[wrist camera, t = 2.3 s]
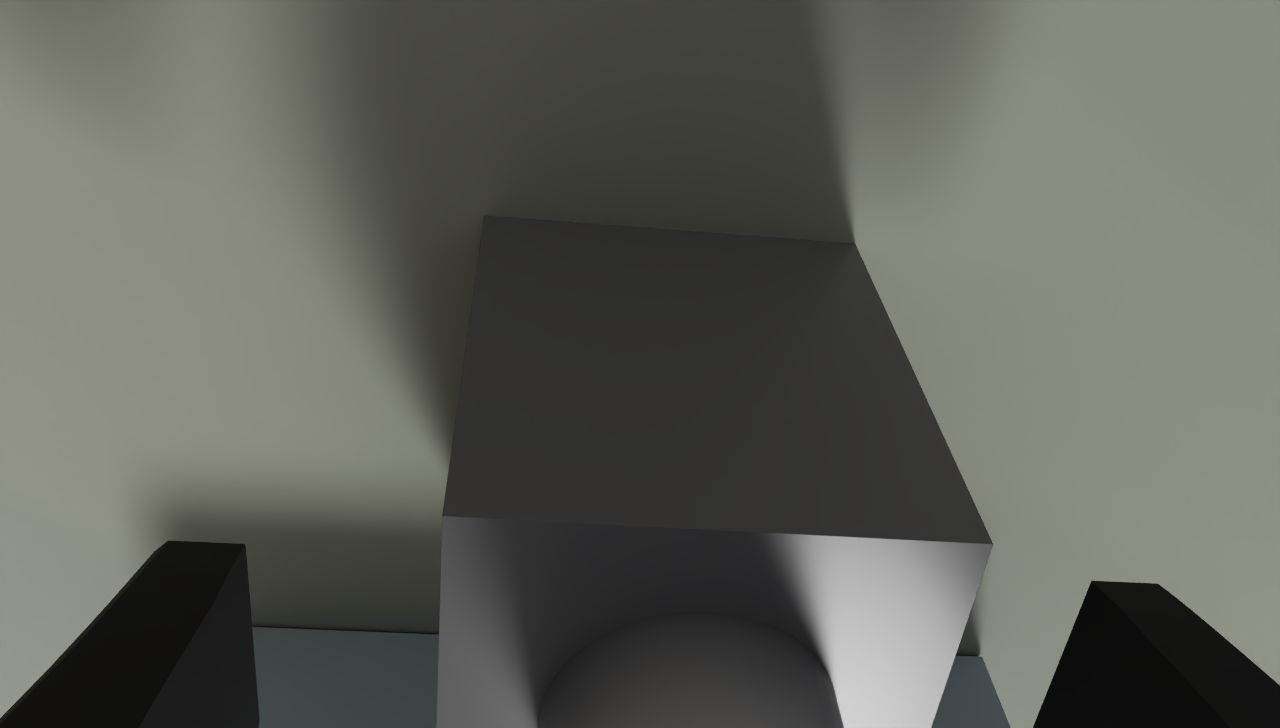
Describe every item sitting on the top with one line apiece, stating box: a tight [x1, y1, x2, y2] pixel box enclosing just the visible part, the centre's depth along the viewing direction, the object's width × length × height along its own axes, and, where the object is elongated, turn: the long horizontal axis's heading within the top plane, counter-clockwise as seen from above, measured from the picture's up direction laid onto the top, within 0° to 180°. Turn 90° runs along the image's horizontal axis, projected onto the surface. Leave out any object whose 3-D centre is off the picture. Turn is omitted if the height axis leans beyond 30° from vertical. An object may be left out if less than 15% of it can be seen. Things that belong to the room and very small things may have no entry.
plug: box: [437, 216, 993, 728], centre depth 11 cm, size 4×4×7 cm
